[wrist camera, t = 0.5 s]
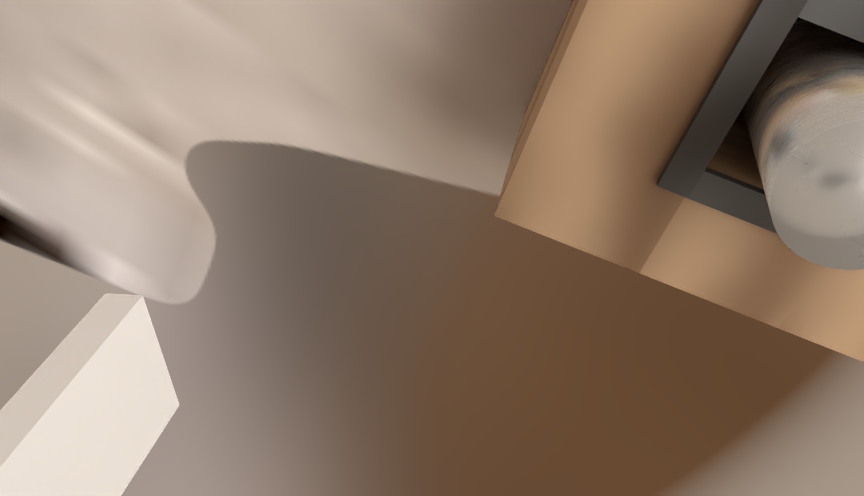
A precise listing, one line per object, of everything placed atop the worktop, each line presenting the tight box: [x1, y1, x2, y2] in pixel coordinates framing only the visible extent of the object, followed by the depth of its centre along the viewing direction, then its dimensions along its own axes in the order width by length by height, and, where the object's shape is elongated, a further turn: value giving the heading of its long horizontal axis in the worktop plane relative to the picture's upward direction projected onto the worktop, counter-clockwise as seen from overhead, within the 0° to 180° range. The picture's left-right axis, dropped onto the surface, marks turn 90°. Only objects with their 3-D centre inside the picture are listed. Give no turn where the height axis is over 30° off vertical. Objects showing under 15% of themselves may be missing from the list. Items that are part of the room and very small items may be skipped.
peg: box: [742, 20, 864, 270], centre depth 26 cm, size 5×5×9 cm
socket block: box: [494, 0, 864, 362], centre depth 30 cm, size 18×16×10 cm
